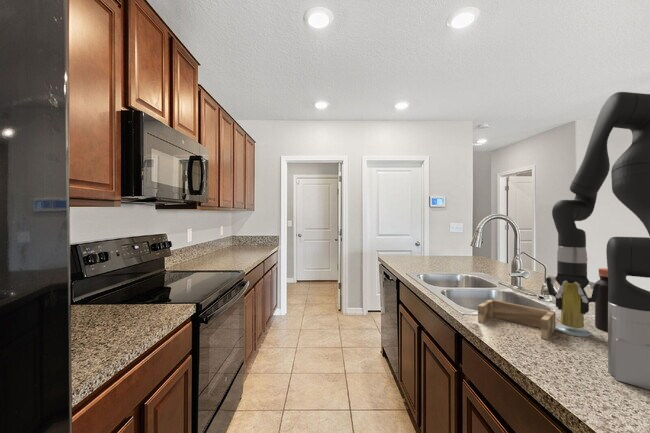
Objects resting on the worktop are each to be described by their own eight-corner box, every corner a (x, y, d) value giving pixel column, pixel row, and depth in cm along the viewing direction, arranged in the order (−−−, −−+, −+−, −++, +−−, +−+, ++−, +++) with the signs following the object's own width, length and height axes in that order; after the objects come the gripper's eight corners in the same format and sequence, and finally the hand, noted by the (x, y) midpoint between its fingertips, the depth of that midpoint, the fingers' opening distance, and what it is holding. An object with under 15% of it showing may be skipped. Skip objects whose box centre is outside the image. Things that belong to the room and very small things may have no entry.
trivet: (588, 339, 90) (588, 337, 90) (551, 330, 97) (551, 329, 97) (592, 331, 96) (592, 329, 96) (557, 323, 103) (557, 322, 103)
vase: (562, 326, 95) (562, 282, 95) (558, 320, 100) (557, 279, 100) (587, 329, 92) (586, 284, 92) (580, 323, 97) (580, 280, 97)
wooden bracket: (547, 339, 90) (547, 320, 90) (478, 322, 105) (477, 305, 105) (555, 329, 97) (555, 311, 97) (489, 314, 113) (489, 299, 113)
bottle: (603, 324, 102) (603, 267, 102) (628, 331, 95) (628, 270, 95) (590, 326, 100) (589, 268, 100) (614, 334, 93) (614, 272, 93)
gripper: (542, 259, 99) (542, 308, 99) (600, 264, 88) (600, 319, 88) (547, 256, 104) (547, 304, 104) (603, 261, 93) (603, 314, 93)
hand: (571, 311), depth 96 cm, fingers closed on vase, 5 cm apart
